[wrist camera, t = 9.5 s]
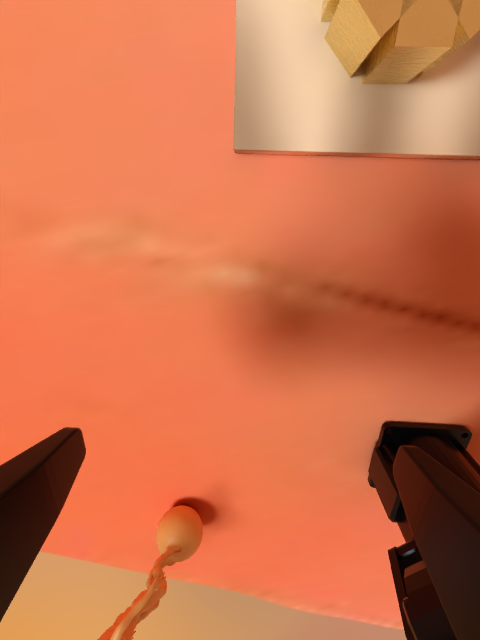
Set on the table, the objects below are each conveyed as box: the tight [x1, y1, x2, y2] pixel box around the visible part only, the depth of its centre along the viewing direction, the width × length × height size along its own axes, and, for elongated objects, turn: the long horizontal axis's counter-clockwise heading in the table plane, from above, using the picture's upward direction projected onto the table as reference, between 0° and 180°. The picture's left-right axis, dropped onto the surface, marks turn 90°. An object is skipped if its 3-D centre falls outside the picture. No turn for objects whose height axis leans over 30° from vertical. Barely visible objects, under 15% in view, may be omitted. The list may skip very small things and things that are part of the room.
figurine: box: [98, 505, 203, 640], centre depth 21 cm, size 8×6×12 cm
